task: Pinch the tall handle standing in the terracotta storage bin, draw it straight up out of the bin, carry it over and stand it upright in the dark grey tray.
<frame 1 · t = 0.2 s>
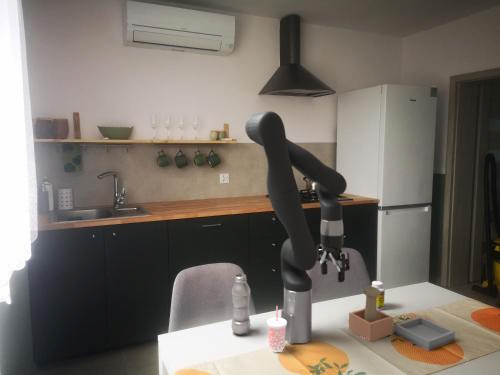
hand: (332, 277, 127), 18 cm above the table, tool pointing down, fingers open, 8 cm apart
tray: (423, 336, 123), on the table
handle: (370, 332, 126), resting in terracotta storage bin
plastic bottle: (241, 332, 127), on the table
beverage cup: (276, 349, 116), on the table
supplement bottle: (376, 308, 146), on the table
terracotta storage bin: (370, 331, 126), on the table
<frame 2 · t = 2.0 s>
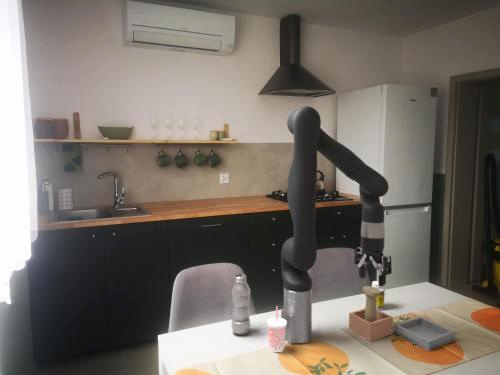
hand: (371, 281, 125), 18 cm above the table, tool pointing down, fingers open, 8 cm apart
nothing on the table moved.
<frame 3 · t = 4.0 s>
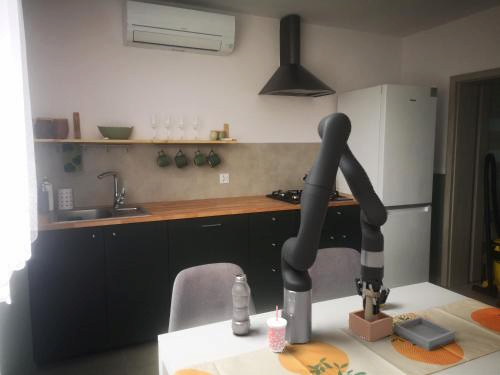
hand: (370, 311, 126), 7 cm above the table, tool pointing down, fingers closed on handle, 3 cm apart
handle: (370, 332, 126), resting in terracotta storage bin, touching gripper
everything else where it was.
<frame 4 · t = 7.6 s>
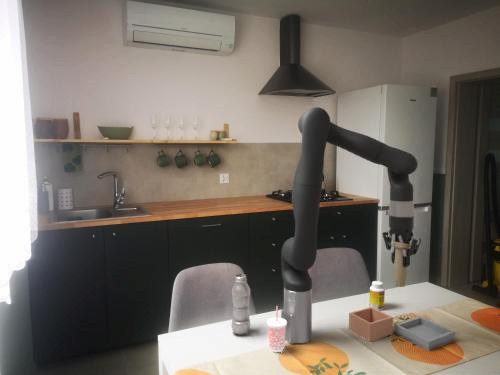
hand: (400, 264, 122), 24 cm above the table, tool pointing down, fingers closed on handle, 3 cm apart
handle: (400, 286, 123), point 17 cm above the table, touching gripper
everything else where it was.
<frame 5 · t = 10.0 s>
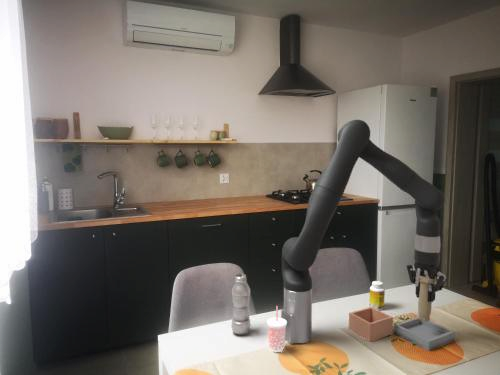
hand: (425, 299, 122), 13 cm above the table, tool pointing down, fingers closed on handle, 3 cm apart
handle: (424, 320, 122), point 6 cm above the table, touching gripper
everything else where it was.
when the fingers open (10 cm above the table, at t = 11.5 s): handle drops 1 cm, resting on tray.
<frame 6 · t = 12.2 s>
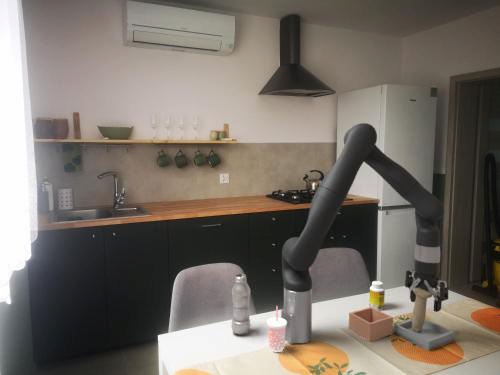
hand: (425, 306, 122), 11 cm above the table, tool pointing down, fingers open, 8 cm apart
handle: (416, 330, 125), point 1 cm above the table, touching gripper, tray
everything else where it was.
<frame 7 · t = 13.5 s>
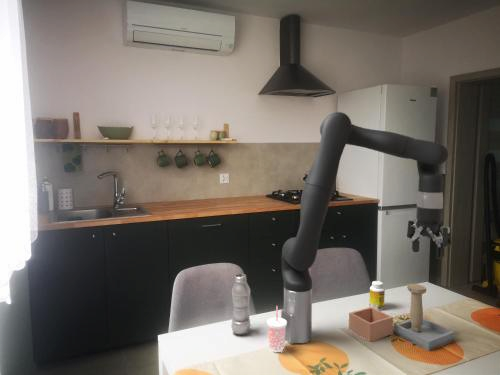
hand: (427, 255, 120), 28 cm above the table, tool pointing down, fingers open, 8 cm apart
handle: (416, 330, 125), point 1 cm above the table, touching tray
everything else where it was.
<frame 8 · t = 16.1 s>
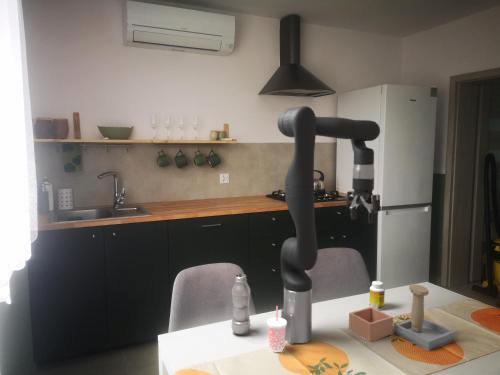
hand: (362, 221, 135), 36 cm above the table, tool pointing down, fingers open, 8 cm apart
at the end: handle inside the target area on the tray (2.7 cm from its centre), point 0.9 cm above the tray's base; handle tilted 2°; the gripper is holding nothing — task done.
